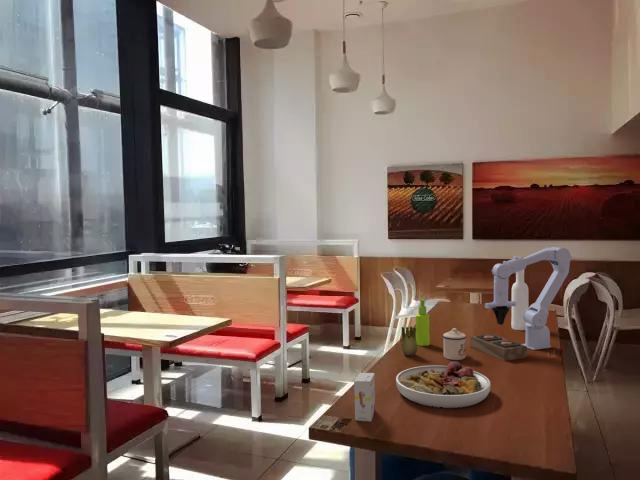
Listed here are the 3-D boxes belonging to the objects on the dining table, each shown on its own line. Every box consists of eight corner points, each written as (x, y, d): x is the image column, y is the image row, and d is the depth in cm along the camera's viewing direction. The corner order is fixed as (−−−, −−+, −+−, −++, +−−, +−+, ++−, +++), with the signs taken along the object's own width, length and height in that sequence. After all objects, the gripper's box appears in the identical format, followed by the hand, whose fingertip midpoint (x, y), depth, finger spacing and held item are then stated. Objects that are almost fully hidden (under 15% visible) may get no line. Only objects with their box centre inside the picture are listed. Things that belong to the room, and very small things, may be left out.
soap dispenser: (430, 342, 238) (430, 297, 237) (428, 346, 232) (428, 300, 230) (417, 341, 240) (417, 297, 239) (415, 345, 234) (414, 300, 232)
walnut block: (491, 344, 233) (491, 332, 232) (527, 357, 212) (527, 344, 212) (470, 347, 229) (470, 335, 229) (504, 360, 208) (504, 347, 208)
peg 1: (490, 346, 228) (490, 335, 228) (496, 349, 224) (496, 337, 224) (482, 347, 227) (481, 336, 227) (488, 350, 223) (488, 338, 223)
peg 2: (507, 353, 218) (507, 341, 218) (514, 355, 214) (514, 343, 214) (498, 354, 217) (498, 342, 216) (505, 357, 213) (505, 344, 212)
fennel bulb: (400, 355, 219) (400, 326, 218) (407, 352, 223) (406, 324, 222) (412, 357, 215) (412, 328, 215) (418, 355, 219) (418, 326, 218)
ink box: (359, 409, 162) (358, 371, 162) (375, 410, 161) (375, 372, 160) (354, 420, 154) (353, 380, 153) (371, 422, 153) (370, 381, 152)
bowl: (475, 419, 154) (475, 392, 154) (381, 400, 170) (380, 376, 169) (500, 387, 179) (500, 364, 179) (416, 374, 195) (416, 353, 195)
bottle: (531, 330, 256) (531, 268, 254) (514, 330, 256) (514, 268, 254) (525, 326, 264) (525, 266, 262) (509, 326, 264) (509, 266, 262)
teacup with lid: (463, 361, 209) (462, 332, 208) (440, 358, 213) (439, 330, 212) (470, 353, 219) (470, 325, 218) (448, 351, 223) (448, 323, 223)
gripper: (508, 289, 231) (508, 320, 231) (480, 291, 226) (480, 323, 227) (519, 292, 224) (519, 324, 225) (491, 294, 219) (490, 327, 220)
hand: (500, 324), depth 225 cm, fingers closed
